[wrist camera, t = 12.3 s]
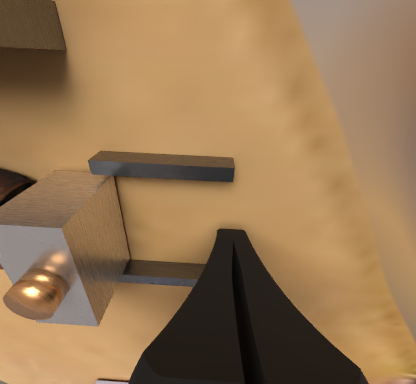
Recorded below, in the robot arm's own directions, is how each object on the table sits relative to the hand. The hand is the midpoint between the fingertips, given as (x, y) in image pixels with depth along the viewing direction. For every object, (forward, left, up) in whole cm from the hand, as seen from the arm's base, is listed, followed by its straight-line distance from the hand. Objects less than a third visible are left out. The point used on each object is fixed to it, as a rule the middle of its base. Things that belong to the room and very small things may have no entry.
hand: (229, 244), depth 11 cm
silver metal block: (0, +8, -2) cm, 8 cm away
